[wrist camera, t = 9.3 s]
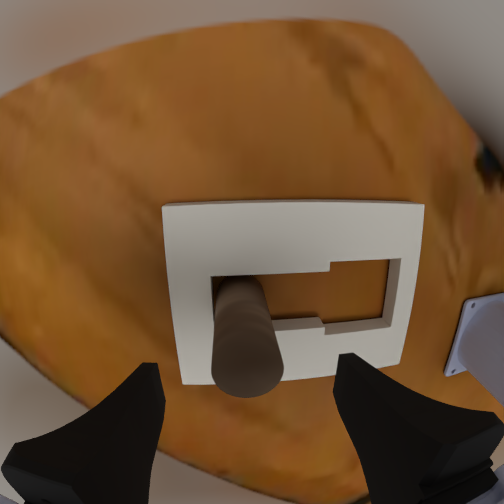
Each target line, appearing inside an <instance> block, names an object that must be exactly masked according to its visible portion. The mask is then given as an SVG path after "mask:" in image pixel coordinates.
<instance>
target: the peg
mask: <svg viewBox="0 0 504 504" xmlns="http://www.w3.org/2000/svg"><path fill="white" fill-rule="evenodd" d="M283 373H284V364H283V360H282V356H281V353H280V349H279V345H278V342H277V338H276V335H275V331H274V327H273V324H272V320H271V317H270V313H269V310H268V306H267V302H266V299H265V295H264V292H263V288H262V286H261V284H260V283H259V282H258V281H257V280H256V279H255V278H254V277H252V276H250V275H233V276H229V277H227V278H226V279H225V280H223V281H222V283H221V284H220V285H219V288H218V290H217V297H216V309H215V322H214V335H213V348H212V363H211V375H212V378H213V380H214V382H215V384H216V385H217V386H218V387H219V388H220V389H221V390H222V391H224V392H225V393H227V394H230V395H232V396H236V397H242V398H250V397H257V396H260V395H263V394H265V393H267V392H269V391H271V390H272V389H273V388H274V387H276V386H277V384H278V383H279V382H280V380H281V378H282V376H283Z"/></svg>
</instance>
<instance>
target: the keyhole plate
mask: <svg viewBox="0 0 504 504" xmlns="http://www.w3.org/2000/svg"><path fill="white" fill-rule="evenodd" d="M162 217H163V231H164V244H165V255H166V266H167V276H168V285H169V294H170V302H171V310H172V318H173V326H174V333H175V340H176V346H177V353H178V359H179V365H180V371H181V377H182V383H183V384H215V382H214V380H213V378H212V375H211V363H212V348H213V335H214V322H215V313H214V298H213V282H212V276H233V275H260V274H283V273H305V272H325V271H330V262H333V261H355V260H376V259H390V265H389V274H388V282H387V289H386V296H385V303H384V309H383V315H382V318H376V319H368V320H359V321H350V322H340V323H330V324H323V323H322V321H321V320H320V318H319V317H311V318H298V319H283V320H272V324H273V327H274V331H275V335H276V338H277V342H278V345H279V349H280V353H281V356H282V360H283V364H284V373H283V376H282V378H281V380H280V381H285V380H296V379H306V378H315V377H323V376H331V375H336V370H337V363H338V357H339V354H344V353H352V352H353V353H355V354H356V355H358V356H359V357H361V358H362V359H363V360H365V361H366V362H368V363H369V364H370V365H372V366H373V367H375V368H381V367H386V366H392V365H396V364H399V362H400V358H401V354H402V350H403V346H404V342H405V337H406V333H407V328H408V323H409V319H410V314H411V308H412V303H413V297H414V292H415V286H416V279H417V272H418V265H419V258H420V249H421V240H422V230H423V218H424V204H420V203H416V202H408V201H379V200H320V199H298V200H237V201H208V202H185V203H167V204H165V205H164V206H162Z"/></svg>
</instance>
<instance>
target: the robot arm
mask: <svg viewBox="0 0 504 504" xmlns="http://www.w3.org/2000/svg"><path fill="white" fill-rule="evenodd" d="M466 370H468V371H469V372H470V373H471V374H472V375H473V376H474V377H475V378H476V379H477V380H478V381H479V382H480V383H481V384H482V385H483V386H484V387H485V388H486V389H487V390H488V391H489V392H490V393H491V394H492V395H493V396H494V397H495V398H496V399H497V401H498V402H499V403H500V404H501V405H502V406H503V407H504V293H500V294H495V295H490V296H484V297H479V298H473V299H468V300H467V301H465V303H464V306H463V310H462V314H461V318H460V322H459V325H458V329H457V333H456V336H455V340H454V343H453V346H452V350H451V353H450V356H449V359H448V362H447V365H446V368H445V371H444V375H445V376H451V375H454V374H457V373H460V372H463V371H466ZM333 394H334V398H335V402H336V405H337V408H338V412H339V414H340V416H341V418H342V421H343V423H344V425H345V427H346V429H347V432H348V434H349V436H350V438H351V440H352V442H353V445H354V447H355V449H356V451H357V454H358V456H359V459H360V462H361V465H362V469H363V472H364V475H365V479H366V483H367V486H368V490H369V494H370V499H371V503H372V504H504V464H503V465H501V466H500V467H499V468H497V469H496V470H495V471H494V472H493V471H492V469H491V468H490V467H491V466H492V465H493V462H492V460H491V459H490V458H489V457H490V456H491V455H492V453H493V452H494V450H495V449H496V447H497V446H498V444H499V443H500V441H501V439H502V438H503V436H504V424H503V422H502V421H501V420H500V419H499V418H498V417H497V416H496V414H495V413H494V412H487V411H478V410H471V409H465V408H461V407H456V406H452V405H449V404H445V403H442V402H439V401H436V400H433V399H431V398H428V397H426V396H424V395H421V394H419V393H417V392H415V391H413V390H411V389H409V388H407V387H405V386H403V385H402V384H400V383H398V382H396V381H395V380H393V379H391V378H390V377H388V376H387V375H385V374H384V373H382V372H381V371H379V370H378V369H376V368H375V367H373V366H372V365H370V364H369V363H368V362H366V361H365V360H363V359H362V358H361V357H359V356H358V355H356V354H355V353H353V352H352V353H344V354H339V357H338V363H337V370H336V376H335V382H334V388H333ZM165 402H166V400H165V396H164V391H163V387H162V382H161V378H160V373H159V369H158V364H157V363H145V362H143V363H142V364H141V365H140V366H139V367H138V368H137V369H136V370H135V371H134V372H133V373H132V374H131V375H130V376H129V377H128V378H127V379H126V380H125V381H124V382H123V383H122V384H121V385H119V386H118V387H117V388H116V389H115V390H114V391H113V392H112V393H111V394H110V395H108V396H107V397H106V398H105V399H104V400H103V401H101V402H100V403H99V404H98V405H96V406H95V407H94V408H92V409H91V410H90V411H88V412H87V413H85V414H84V415H82V416H81V417H79V418H77V419H75V420H74V421H72V422H70V423H68V424H66V425H65V426H63V427H61V428H59V429H56V430H54V431H52V432H49V433H47V434H44V435H42V436H39V437H36V438H33V439H29V440H26V441H22V442H18V443H15V444H14V445H13V447H12V449H11V450H10V452H9V454H8V455H7V457H6V459H5V461H4V463H3V464H2V466H1V471H2V473H3V476H4V477H5V479H6V480H7V481H8V483H9V484H10V485H11V486H12V487H13V488H14V489H15V491H17V493H18V494H19V495H20V496H21V497H22V498H23V499H24V500H25V502H24V504H148V499H149V487H150V477H151V470H152V464H153V460H154V456H155V452H156V448H157V444H158V440H159V437H160V433H161V429H162V425H163V420H164V412H165ZM0 504H18V503H17V502H15V501H13V500H11V499H9V498H7V497H4V496H2V495H1V494H0Z"/></svg>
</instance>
